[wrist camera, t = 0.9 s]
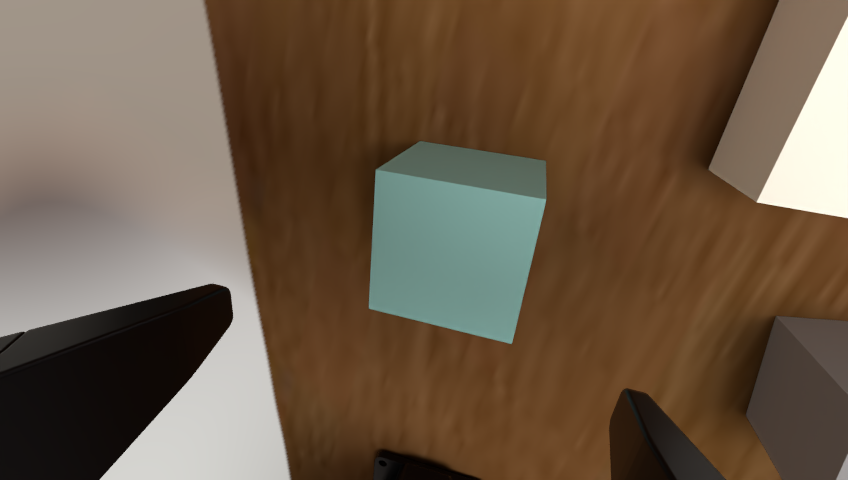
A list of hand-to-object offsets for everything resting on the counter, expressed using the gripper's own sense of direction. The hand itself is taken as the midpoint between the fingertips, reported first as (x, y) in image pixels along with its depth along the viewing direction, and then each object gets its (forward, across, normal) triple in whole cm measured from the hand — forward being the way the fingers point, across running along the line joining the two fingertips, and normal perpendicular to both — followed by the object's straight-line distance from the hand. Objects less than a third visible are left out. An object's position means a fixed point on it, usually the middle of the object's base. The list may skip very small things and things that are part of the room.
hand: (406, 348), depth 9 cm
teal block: (+9, 0, 0) cm, 9 cm away
